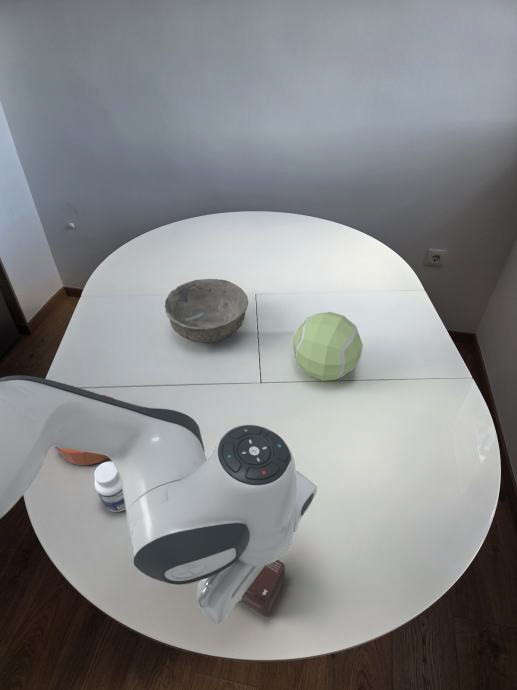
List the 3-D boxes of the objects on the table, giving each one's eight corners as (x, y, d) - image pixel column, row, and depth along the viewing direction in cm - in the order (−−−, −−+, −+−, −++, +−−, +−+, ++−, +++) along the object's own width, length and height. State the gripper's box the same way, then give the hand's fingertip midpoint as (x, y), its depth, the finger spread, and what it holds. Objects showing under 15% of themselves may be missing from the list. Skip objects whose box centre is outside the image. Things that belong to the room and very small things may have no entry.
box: (285, 581, 69) (286, 564, 64) (266, 618, 65) (266, 603, 60) (252, 561, 71) (251, 543, 66) (232, 596, 68) (230, 580, 62)
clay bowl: (85, 480, 82) (77, 466, 79) (45, 441, 89) (36, 426, 86) (143, 431, 90) (138, 417, 87) (102, 399, 97) (96, 384, 94)
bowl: (262, 319, 116) (262, 289, 110) (223, 369, 103) (221, 338, 96) (198, 298, 123) (194, 269, 117) (154, 342, 110) (146, 312, 103)
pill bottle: (109, 485, 82) (95, 457, 75) (137, 485, 81) (126, 457, 75) (100, 512, 78) (85, 485, 71) (130, 513, 78) (117, 486, 71)
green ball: (282, 379, 100) (284, 331, 90) (306, 340, 110) (310, 293, 100) (344, 401, 96) (353, 353, 85) (363, 358, 105) (373, 310, 95)
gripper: (218, 618, 45) (227, 649, 54) (324, 478, 56) (317, 524, 66) (177, 577, 48) (192, 613, 57) (285, 452, 59) (283, 499, 69)
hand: (259, 564), depth 62 cm, fingers open, 8 cm apart
